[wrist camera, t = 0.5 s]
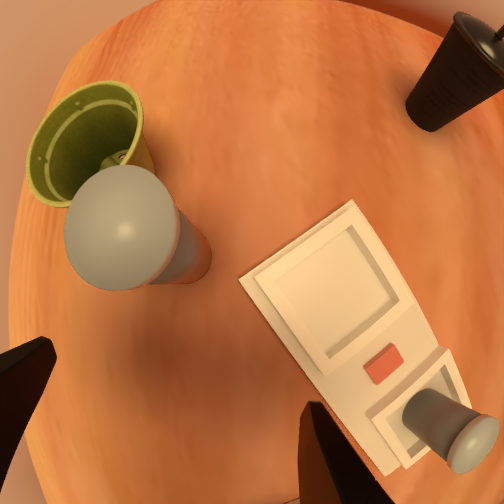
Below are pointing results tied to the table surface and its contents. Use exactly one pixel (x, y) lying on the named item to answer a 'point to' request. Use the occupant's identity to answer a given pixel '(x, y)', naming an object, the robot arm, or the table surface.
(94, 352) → the table surface
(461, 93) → the drinking cup
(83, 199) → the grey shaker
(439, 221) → the table surface
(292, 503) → the coffee box
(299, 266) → the peg insertion board
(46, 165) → the plant pot
